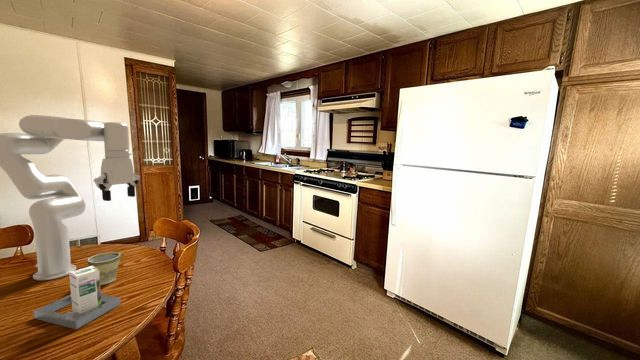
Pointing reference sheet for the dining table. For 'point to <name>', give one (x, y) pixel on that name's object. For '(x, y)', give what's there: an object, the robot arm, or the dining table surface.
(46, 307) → the grey rectangular frame
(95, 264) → the ceramic cup
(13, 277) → the dining table surface
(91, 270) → the syrup box
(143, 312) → the dining table surface
